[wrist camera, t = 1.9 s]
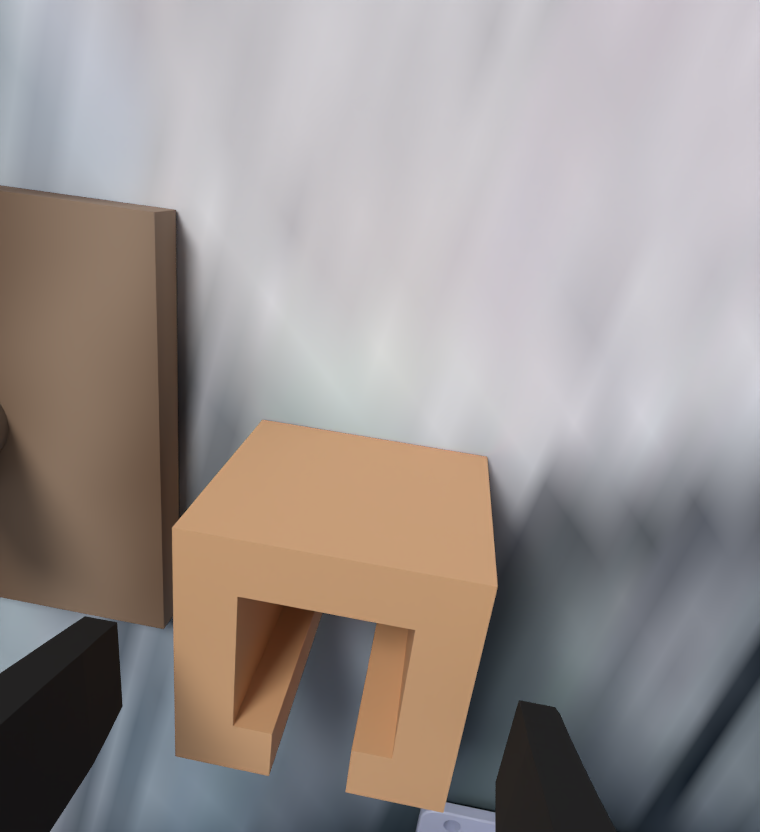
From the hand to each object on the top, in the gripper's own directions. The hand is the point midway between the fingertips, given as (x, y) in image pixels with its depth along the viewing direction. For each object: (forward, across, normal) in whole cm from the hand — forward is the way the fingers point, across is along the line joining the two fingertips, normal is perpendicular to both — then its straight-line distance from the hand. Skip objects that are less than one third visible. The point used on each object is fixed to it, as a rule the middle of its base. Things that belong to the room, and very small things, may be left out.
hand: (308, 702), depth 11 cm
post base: (+6, +10, -2) cm, 12 cm away
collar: (+6, 0, 0) cm, 6 cm away
